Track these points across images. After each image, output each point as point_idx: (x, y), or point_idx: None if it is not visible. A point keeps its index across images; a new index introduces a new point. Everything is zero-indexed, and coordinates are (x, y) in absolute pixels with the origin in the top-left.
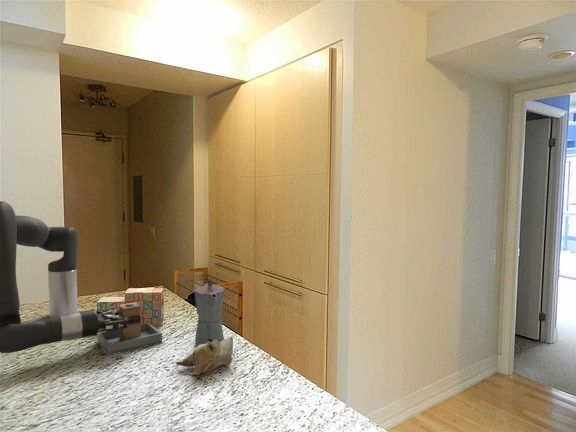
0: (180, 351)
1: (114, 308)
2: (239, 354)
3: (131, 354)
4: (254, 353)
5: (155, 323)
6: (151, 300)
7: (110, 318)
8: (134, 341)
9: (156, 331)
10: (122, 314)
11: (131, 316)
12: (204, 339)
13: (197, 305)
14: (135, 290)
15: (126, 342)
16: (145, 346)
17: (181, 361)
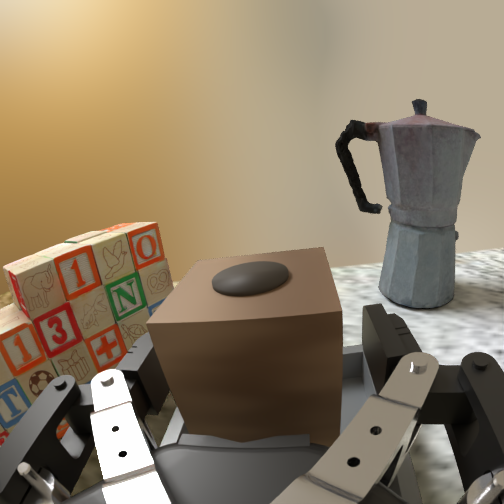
0: (468, 338)
1: (68, 379)
2: (493, 266)
3: (455, 479)
4: (488, 255)
5: None
6: (132, 270)
7: (364, 498)
8: None
9: None
10: (302, 379)
11: (388, 335)
12: (453, 277)
13: (440, 175)
14: (42, 256)
15: (413, 480)
16: None
17: None
